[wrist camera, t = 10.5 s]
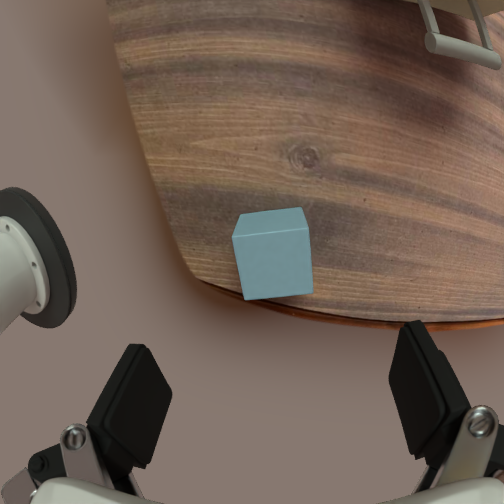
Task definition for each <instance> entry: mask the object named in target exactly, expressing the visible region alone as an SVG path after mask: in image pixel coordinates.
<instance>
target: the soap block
mask: <svg viewBox="0 0 504 504" xmlns="http://www.w3.org/2000/svg"><path fill="white" fill-rule="evenodd" d="M232 242H233V247H234V252H235V257H236V262H237V267H238V272H239V276H240V281H241V286H242V291H243V296H244V300H254V299H265V298H275V297H285V296H294V295H303V294H312V293H313V277H312V262H311V249H310V236H309V228H308V225H307V222H306V219H305V216H304V213H303V210H302V207H296V208H287V209H279V210H271V211H263V212H255V213H247V214H241V215H240V217H239V219H238V222H237V225H236V227H235V230H234V232H233V235H232Z"/></svg>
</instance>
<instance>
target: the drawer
mask: <svg viewBox="0 0 504 504" xmlns="http://www.w3.org/2000/svg"><path fill="white" fill-rule="evenodd" d="M404 1H409V2H414V3H418V4H419V7H420V10H421V13H422V16H423V19H424V22H425V25H426V28H427V32H428V33H426V35H425V46H426V48H427V50H428V51H429V52H430V53H434V54H439V55H444V56H448V57H453V58H457V59H461V60H464V61H468V62H472V63H475V64H478V65H481V66H485V67H488V68H491V69H494V70H499V69H500V68H501V58H500V56H499V55H498V54H497V53H496V52H494V51H493V47H492V44H491V40H490V37H489V34H488V30H487V27H486V24H485V21H484V19H483V17H485V16H487V15H490V14H493V13H496V12H499V11H503V10H504V0H404ZM431 7H434V8H437V9H441V10H444V11H447V12H450V13H453V14H456V15H459V16H462V17H465V18H468V19H470V20H473V21H474V20H475V22H476V25H477V28H478V32H479V35H480V38H481V42H482V45H483V47H480V46H478V45H475V44H472V43H469V42H466V41H462V40H459V39H456V38H452V37H448V36H445V35H441V34H439V33H440V32H439V29H438V25H437V22H436V19H435V16H434V13H433V10H432V8H431Z"/></svg>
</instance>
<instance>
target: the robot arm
mask: <svg viewBox="0 0 504 504" xmlns="http://www.w3.org/2000/svg"><path fill="white" fill-rule="evenodd" d="M49 297H50V285H49V279H48V275H47V271H46V268H45V265H44V262H43V259H42V257H41V255H40V253H39V251H38V249H37V247H36V245H35V243H34V242H33V240H32V238H31V237H30V236H29V234H28V233H27V231H26V230H25V229H24V228H23V227H22V226H21V225H20V224H19V223H18V222H16V221H15V220H14V219H12V218H10V217H6V216H2V217H0V335H1V333H2V332H3V331H4V330H5V329H6V328H7V327H8V326H9V325H10V324H11V323H12V322H13V321H14V320H15V319H16V318H17V317H18V316H19V315H20V314H21V313H22V312H23V311H24V312H27V313H30V314H38V313H39V312H41V311H42V310H43V309H44V308H45V307H46V306H47V304H48V302H49ZM389 384H390V387H391V390H392V394H393V397H394V400H395V403H396V406H397V410H398V413H399V416H400V419H401V423H402V427H403V430H404V434H405V438H406V441H407V445H408V449H409V452H410V454H411V455H413V454H414V456H415V460H417V459H420V458H423V457H425V460H426V464H427V467H426V469H425V471H424V472H423V475H422V476H421V478H420V480H419V482H418V484H417V485H416V487H415V489H414V490H413V492H412V494H411V495H408V496H405V497H401V498H398V499H394V500H390V501H386V502H382V503H378V504H504V425H501V424H499V420H498V416H497V414H496V413H495V411H494V410H493V409H492V408H490V407H488V406H485V405H479V406H475V407H473V408H471V406H470V403H469V401H468V399H467V397H466V395H465V393H464V391H463V389H462V387H461V385H460V383H459V381H458V379H457V377H456V375H455V373H454V371H453V369H452V367H451V365H450V363H449V362H448V360H447V358H446V356H445V354H444V353H443V352H442V351H441V350H438V349H437V347H436V345H435V343H434V342H433V340H432V338H431V336H430V335H429V333H428V331H427V329H426V328H425V326H424V324H423V323H422V321H421V320H416V321H411V322H406V323H405V324H404V327H402V328H400V331H399V335H398V340H397V344H396V349H395V353H394V357H393V361H392V365H391V369H390V372H389ZM171 399H172V390H171V388H170V386H169V385H168V383H167V381H166V379H165V378H164V376H163V374H162V372H161V370H160V368H159V367H158V365H157V363H156V361H155V359H154V357H153V355H152V353H151V351H150V350H149V348H146V346H145V345H144V344H129V345H128V347H127V348H126V350H125V352H124V354H123V355H122V357H121V359H120V361H119V362H118V364H117V366H116V367H115V369H114V371H113V373H112V375H111V376H110V378H109V380H108V382H107V384H106V385H105V387H104V389H103V391H102V393H101V395H100V396H99V399H98V400H97V402H96V404H95V406H94V408H93V410H92V412H91V414H90V416H89V417H88V419H87V421H86V423H87V424H88V425H87V427H85V426H84V425H82V424H72V425H70V426H68V427H67V428H66V429H65V430H64V431H63V432H62V434H61V437H60V443H59V444H57V445H54V446H52V447H50V448H47V449H45V450H42V451H40V452H38V453H36V454H34V455H33V456H32V457H31V458H30V460H29V463H28V469H27V468H26V467H25V468H24V469H23V470H21V471H20V472H19V473H18V474H16V475H15V476H14V477H13V478H11V479H10V480H9V481H7V482H6V483H5V484H4V485H3V487H2V490H1V493H2V494H1V495H2V498H3V500H4V503H5V504H163V503H158V502H155V501H151V500H147V499H145V498H144V496H143V494H142V492H141V490H140V488H139V486H138V484H137V482H136V480H135V478H134V475H133V473H132V468H133V466H134V467H138V468H142V469H145V468H146V465H147V464H149V463H150V462H151V459H152V456H153V453H154V450H155V447H156V444H157V441H158V438H159V435H160V432H161V429H162V425H163V423H164V420H165V417H166V414H167V411H168V408H169V405H170V402H171Z"/></svg>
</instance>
